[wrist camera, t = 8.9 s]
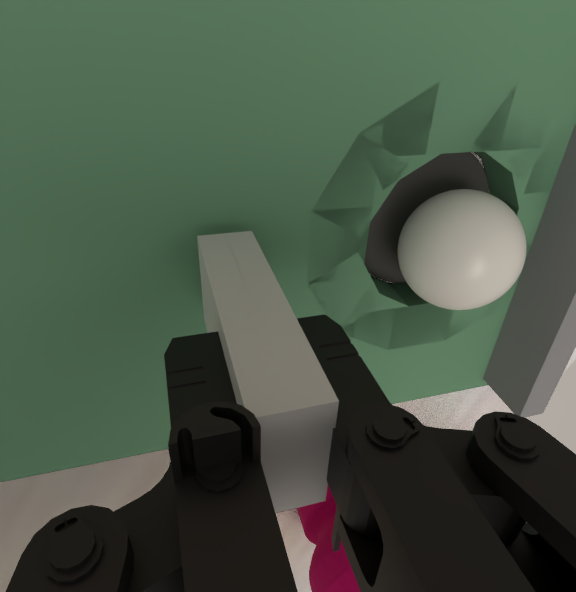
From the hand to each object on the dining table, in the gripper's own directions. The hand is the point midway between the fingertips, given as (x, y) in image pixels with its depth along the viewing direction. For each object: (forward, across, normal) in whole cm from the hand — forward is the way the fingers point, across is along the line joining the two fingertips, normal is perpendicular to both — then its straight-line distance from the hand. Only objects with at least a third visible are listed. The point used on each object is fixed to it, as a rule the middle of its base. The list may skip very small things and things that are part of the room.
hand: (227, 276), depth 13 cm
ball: (0, +8, 0) cm, 8 cm away
